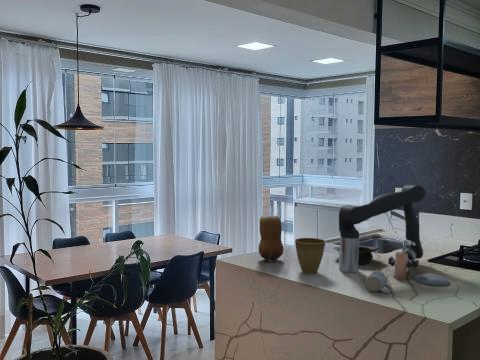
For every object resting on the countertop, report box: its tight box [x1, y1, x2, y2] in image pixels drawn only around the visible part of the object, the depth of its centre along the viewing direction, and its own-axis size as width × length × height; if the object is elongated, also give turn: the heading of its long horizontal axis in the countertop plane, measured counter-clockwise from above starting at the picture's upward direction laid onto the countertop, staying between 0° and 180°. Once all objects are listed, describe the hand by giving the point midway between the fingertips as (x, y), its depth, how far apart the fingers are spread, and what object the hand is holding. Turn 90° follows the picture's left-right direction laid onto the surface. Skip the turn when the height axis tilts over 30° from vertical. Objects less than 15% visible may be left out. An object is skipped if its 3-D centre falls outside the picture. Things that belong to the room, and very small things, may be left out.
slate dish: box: [414, 273, 450, 287], centre depth 221 cm, size 15×15×1 cm
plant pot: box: [294, 237, 326, 275], centre depth 233 cm, size 15×15×16 cm
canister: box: [394, 251, 408, 281], centre depth 226 cm, size 6×6×12 cm
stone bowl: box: [332, 245, 380, 266], centre depth 258 cm, size 25×25×9 cm
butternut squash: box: [258, 214, 284, 262], centre depth 254 cm, size 14×13×25 cm
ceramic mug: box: [365, 270, 393, 294], centre depth 206 cm, size 11×8×8 cm
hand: (400, 265), depth 224 cm, fingers open, 7 cm apart
